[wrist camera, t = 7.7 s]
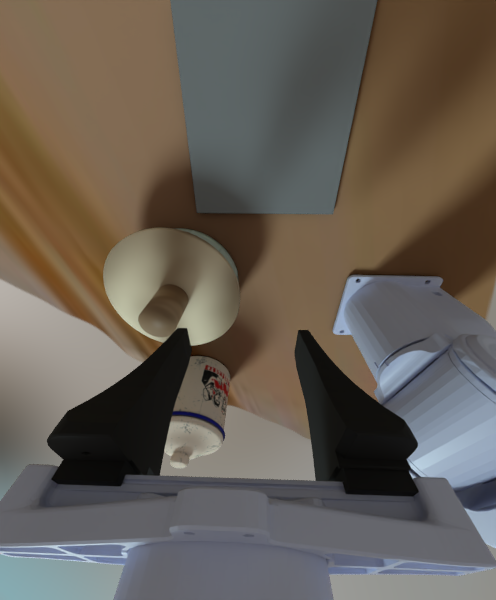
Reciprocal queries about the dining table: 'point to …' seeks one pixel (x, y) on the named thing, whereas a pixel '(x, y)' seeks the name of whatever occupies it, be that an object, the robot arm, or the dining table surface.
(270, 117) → the mat
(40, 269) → the dining table surface
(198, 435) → the teacup with lid
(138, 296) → the lid
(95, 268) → the dining table surface
